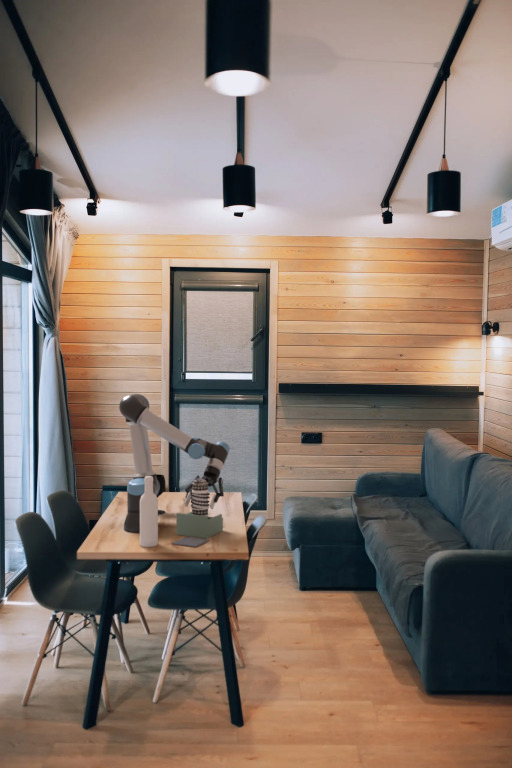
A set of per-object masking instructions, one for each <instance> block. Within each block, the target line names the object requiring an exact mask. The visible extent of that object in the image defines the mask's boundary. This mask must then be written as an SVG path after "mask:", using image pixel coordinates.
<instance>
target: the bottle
mask: <svg viewBox="0 0 512 768" xmlns="http://www.w3.org/2000/svg"><path fill="white" fill-rule="evenodd" d="M144 481H145V493H144V494H143V495H142V496H141V499H140V532H139V545H140V547H143V548H153V547H157V546H158V544H159V533H158V532H159V524H158V523H159V515H158V510H159V506H158V505H159V499H158V498H157V496H156V495H155V494H154V493H153V477H152V476H146V477H145V479H144Z"/></svg>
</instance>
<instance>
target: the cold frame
mask: <svg viewBox="0 0 512 768" xmlns="http://www.w3.org/2000/svg"><path fill="white" fill-rule="evenodd" d="M208 517H209V519H208ZM223 524H224V518H223V514H222V513H221V514H217V515H215V516H210V515H208V516H201V515H192V511H190V512H186V513H182V512H177V513H176V528H175V529H176V535H177V536H183V537H193V538H201V539H209V538H211V537H212V536H215V535H217V534H218V533H221V532H223V531H224V526H223Z"/></svg>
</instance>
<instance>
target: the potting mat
mask: <svg viewBox="0 0 512 768" xmlns="http://www.w3.org/2000/svg"><path fill="white" fill-rule="evenodd" d="M208 542H210V539H209V538H207V539H206V538H198V537H191V536H183V537H181V538H180V539H178V540H176V541H174V542H172V543H171V545H175V546H180V547H189V548H198V547H200V546H202V545H204V544H206V543H208Z"/></svg>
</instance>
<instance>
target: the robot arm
mask: <svg viewBox="0 0 512 768" xmlns="http://www.w3.org/2000/svg"><path fill="white" fill-rule="evenodd" d="M118 406H119V407H118V410H119V413H120V414H121V415H122V417H124V418H125V423H126V424H127V425H129V432H130V433H129V434H130V440H131V448H132V457H133V464H134V474H133V475H132V479H131V480H129V481H128V482H127V487H126V491H127V494H126V495H127V497H126V499H127V504H126V506H127V508H126V509H127V510H126V511H127V512H126V517H125V519H124V521H123V522H124V523H123V530H124V531H125V532H131V533H140V499H141V496H142V495H143V494H144V493H145V481H144V479H145V477H146V476H152V477H153V493H154V494H155V495H156V496H157V495H158V492H159V489H160V485H159V482H158V480H157V477H156V474H157V472H156V471H154V469H153V464H152V463H153V462H152V455H151V448H150V440H149V431H151V432H152V433H154V434H156V435H158V436H159V437H161V438H162V439H164V440H165V441H167V442H169V443H170V444H172V445H173V446H174V447H177V448H178V449H180V450H182V451H183V452H185V453H186V454H188V456H189V457H190V458H192V460H200V459H202V458H203V457H205V458H208V459H209V460H208V462H207V465H206V467H205V470H204V472H203V475H202V476H199V475H196V476H195V478H194V479H193V481H194V480H196V479H205V480H206V481H207V482H208V488H209V487H212V489H213V491H214V493H215V494H213V496H212V498H211V501H210V502H209V508H210V509H211V510H213V509H214V507H215V505H216V504H217V503H218V501H219V498H220V497H222V498H223V497H224V496H225V494H224V493H225V492H224V487H223V482H224V479H223V478H222V477H221V476H220V475H221V472H222V470H223V468H224V465H225V463H226V461H227V457H228V455H229V452H230V449H231V447H230V445H229V444H228V443H227V442H225V441H217V442H216V443H212V442H209V441H206V440H204V439H202V438H199V437H197V436H193V437H192V436H190V435H189V434H187V433H185V432H184V431H182V430H181V429H179V428H177V427H176V426H174V425H173V424H171V423H170V422H167V421H166V420H165V419H163V418H161V417H160V416H158V415H156V414H155V413H153V412H152V411H151V410H150V402H149V399H147V397H146V396H144V395H142V394H140V393H134V394H129V395H126V396H124V397H123V398H122V399H121V400H120V402H119V405H118ZM193 481H191V482H190V483H189V484H188V486H186V487H185V488H184V491H185V492H186V495H185V500H184V502H183V504H184V506H185V507H188V506H189V504H190V503H191V494H190V493H191V492H192V483H193ZM216 483H218V489H217V487H216ZM218 490H219V491H218Z"/></svg>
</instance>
